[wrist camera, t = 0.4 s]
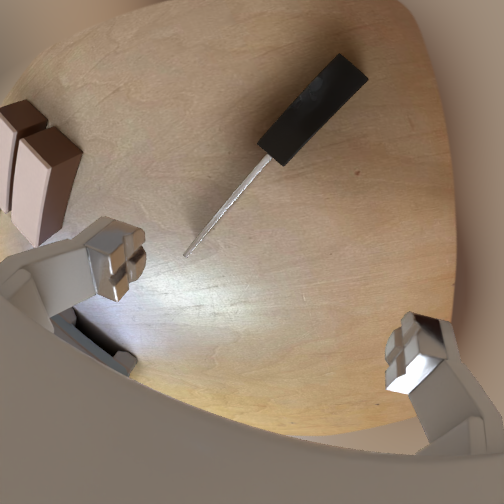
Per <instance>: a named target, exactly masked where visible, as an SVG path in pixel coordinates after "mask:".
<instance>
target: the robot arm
mask: <svg viewBox="0 0 504 504" xmlns="http://www.w3.org/2000/svg"><path fill="white" fill-rule="evenodd" d="M144 242H145V232H144V231H143V230H142V229H141V228H138V227H135V226H133V225H130V224H127V223H124V222H121V221H118V220H115V219H112V218H109V217H106V216H104V217H100V218H99V219H98V220H96V221H95V222H94V223H92V224H91V225H90V226H88V227H87V228H86V229H84V230H83V231H82V232H81V233H79V234H78V235H77V236H75V237H74V238H73V239H72V240H69V239H65V240H62V241H58V242H55V243H51V244H48V245H44V246H41V247H38V248H34V249H31V250H28V251H24V252H21V253H18V254H15V255H12V256H8V257H7V258H5V259H4V260H3V261H2V262H1V263H0V504H504V429H503V422H502V416H501V415H500V413H499V412H498V410H497V409H496V407H495V406H494V404H493V403H492V401H491V400H490V398H489V397H488V395H487V394H486V393H485V391H484V390H483V388H482V387H481V385H480V384H479V383H478V381H477V380H476V378H475V377H474V376H473V374H472V373H471V371H470V370H469V369H468V368H467V366H466V365H465V364H464V363H461V359H460V355H459V351H458V347H457V343H456V339H455V335H454V331H453V327H452V325H451V323H450V322H449V321H445V320H441V319H437V318H436V319H435V318H431V317H428V316H424V315H421V314H417V313H414V312H410V311H409V312H407V313H406V314H405V315H404V317H403V318H402V319H401V325H402V326H401V327H399V328H397V329H395V330H394V331H393V332H392V334H391V335H390V337H389V339H388V342H387V344H386V349H385V360H386V362H387V363H388V365H389V367H388V369H387V370H386V371H385V386H386V390H390V391H395V392H400V393H404V394H409V395H408V396H409V399H410V401H411V403H412V405H413V407H414V409H415V411H416V414H417V416H418V418H419V420H420V422H421V425H422V427H423V429H424V432H425V434H426V436H427V438H428V440H429V443H430V444H429V445H427V446H425V447H424V448H422V449H420V450H419V451H418V452H417V453H416V455H403V454H390V453H381V452H371V451H364V450H356V449H350V448H343V447H337V446H332V445H326V444H321V443H316V442H311V441H307V440H301V439H298V438H293V437H289V436H285V435H281V434H278V433H274V432H270V431H266V430H263V429H259V428H256V427H253V426H249V425H246V424H243V423H240V422H237V421H233V420H230V419H227V418H225V417H222V416H219V415H216V414H213V413H210V412H208V411H205V410H202V409H200V408H197V407H194V406H192V405H189V404H187V403H184V402H182V401H179V400H177V399H175V398H172V397H170V396H168V395H165V394H163V393H161V392H159V391H156V390H154V389H152V388H150V387H148V386H146V385H143V384H141V383H139V382H137V381H135V380H133V379H131V378H129V377H127V376H125V375H123V374H121V373H119V372H117V371H115V370H114V369H112V368H110V367H108V366H106V365H104V364H103V363H101V362H99V361H97V360H95V359H94V358H92V357H90V356H88V355H87V354H85V353H83V352H82V351H80V350H78V349H77V348H75V347H73V346H72V345H70V344H69V343H67V342H65V341H64V340H62V339H61V338H59V337H58V336H56V335H55V334H53V333H54V327H53V325H52V323H51V321H50V319H49V318H50V317H52V316H54V315H56V314H58V313H60V312H62V311H64V310H66V309H68V308H70V307H72V306H74V305H76V304H78V303H80V302H82V301H85V300H87V299H89V298H91V297H93V296H95V295H96V293H97V294H99V295H101V296H103V297H106V298H108V299H110V300H113V301H115V302H117V303H118V301H119V300H120V299H121V298H122V297H123V296H124V294H125V293H126V292H127V291H128V290H129V283H131V282H133V281H136V280H137V279H138V278H139V277H140V276H141V275H142V272H143V270H144V268H145V265H146V252H145V250H144V249H143V247H142V244H143V243H144Z"/></svg>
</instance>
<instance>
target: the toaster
mask: <svg viewBox="0 0 504 504" xmlns="http://www.w3.org/2000/svg"><path fill="white" fill-rule="evenodd" d="M49 319H50V321H51V323H52V325H53V327H54V333H53V334H55V335H56V336H58V337H59V338H61V339H62V340H64V341H65V342H67V343H69V344H70V345H72V346H73V347H75V348H77V349H78V350H80V351H82V352H83V353H85V354H87V355H88V356H90V357H92V358H94V359H95V360H97V361H99V362H101V363H103V364H104V365H106V366H108V367H110V368H112V369H114V370H115V371H117V372H119V373H121V374H123V375H125V376H127V377H129V376H130V373H131V371H132V370H133V368H134V367H135V365H136V364H137V359H136V358H135V357H134V356H132V355H131V354H130V353H128V352H121V351H117V353H116V354H115V355H114V357H112V356H110V355H109V354H108V353H106V352H105V351H104V350H102V349H101V348H100V347H99V346H97V345H96V344H95V343H94V342H92V341H91V340H90V339H89V338H87V337H86V336H85V335H84V334H82V333H81V332H80V331H79V330H78V329H76V328H75V325H76V316H75V313H74V309H73V308H72V307H70V308H68V309H66V310H64V311H62V312H60V313H58V314H56V315H54V316H52V317H50V318H49Z"/></svg>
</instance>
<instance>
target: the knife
mask: <svg viewBox="0 0 504 504" xmlns="http://www.w3.org/2000/svg"><path fill="white" fill-rule="evenodd" d="M368 80H369V79H368V78H367V77H366V76H365V75H364V74H363V73H362V72H361V71H360V70H359V69H357V68H356V67H355V66H354V65H353V64H352V63H351V62H350V61H348V60H347V59H346V58H345V57H344V56H342V55H341V54H340V53H339V54H338V55H337V56H336V57H335V58H334V59H333V60H332V61H331V62H330V63H329V64H328V65H327V66H326V67H325V68H324V69H323V70H322V71H321V72H320V73H319V74H318V76H317V77H316V78H315V79H314V80H313V81H312V82H311V83H310V84H309V85H308V86H307V87H306V88H305V89H304V90H303V92H302V93H301V94H300V95H299V96H298V97H297V98H296V99H295V100H294V101H293V103H292V104H291V105H290V106H289V107H288V108H287V109H286V110H285V111H284V113H283V114H282V115H281V116H280V117H279V118H278V119H277V120H276V122H275V123H274V124H273V125H272V126H271V127H270V128H269V130H268V131H267V132H266V133H265V134H264V135H263V137H262V138H261V139H260V140H259V141H258V142H257V145H258V146H260V147H261V148H262V149H263V150H264V151H266V152H267V154H266V155H265V156H264V158H263V159H262V160H261V161H260V162H259V163H258V164H257V166H256V167H255V168H254V169H253V170H252V171H251V172H250V174H249V175H248V176H247V177H246V178H245V179H244V181H243V182H242V183H241V184H240V185H239V187H238V188H237V189H236V190H235V191H234V192H233V194H232V195H231V196H230V197H229V198H228V200H227V201H226V202H225V203H224V204H223V206H222V207H221V208H220V209H219V210H218V212H217V213H216V214H215V215H214V216H213V218H212V219H211V220H210V221H209V223H208V224H207V225H206V226H205V228H204V229H203V230H202V231H201V232H200V234H199V235H198V236H197V237H196V239H195V240H194V241H193V242H192V244H191V245H190V246H189V248H188V249H187V250H186V251H185V253H184V254H183V256H184V257H186V258H187V257H188V256H189V255H190V254H191V252H192V251H193V250H194V249H195V247H196V246H197V245H198V244H199V243H200V241H201V240H202V239H203V238H204V237H205V235H206V234H207V233H208V232H209V230H210V229H211V228H212V227H213V226H214V225H215V223H216V222H217V221H218V220H219V219H220V217H221V216H222V215H223V214H224V213H225V212H226V210H227V209H228V208H229V207H230V206H231V204H232V203H233V202H234V201H235V200H236V199H237V197H238V196H239V195H240V194H241V193H242V192H243V191H244V189H245V188H246V187H247V186H248V185H249V184H250V183H251V181H252V180H253V179H254V178H255V177H256V176H257V175H258V173H259V172H260V171H261V170H262V169H263V168H264V167H265V166H266V164H267V163H268V162H269V161H270V160H271V159H272V158H274V159H275V160H276V161H277V162H278V163H280V164H281V165H282V166H283V167H284V166H285V165H286V164H287V163H288V162H289V161H290V160H291V159H292V158H293V157H294V156H295V154H296V153H297V152H298V151H299V150H300V149H301V148H302V147H303V146H304V145H305V144H306V143H307V142H308V141H309V140H310V139H311V138H312V137H313V136H314V135H315V134H316V132H317V131H318V130H319V129H320V128H321V127H322V126H323V125H324V124H325V123H326V122H327V121H328V120H329V119H330V118H331V117H332V116H333V115H334V114H335V113H336V112H337V111H338V110H339V109H340V108H341V107H342V106H343V105H344V104H345V103H346V102H347V101H348V100H349V99H350V98H351V97H352V96H353V95H354V94H355V93H356V92H357V91H358V90H359V89H360V88H361V87H362V86H363V85H364V84H365V83H366V82H367V81H368Z"/></svg>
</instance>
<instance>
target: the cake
mask: <svg viewBox="0 0 504 504" xmlns="http://www.w3.org/2000/svg"><path fill="white" fill-rule="evenodd" d="M47 121H48V120H47V119H46V118H45V117H44V116H43V115H42V114H41V113H40V112H39V111H38V110H37V109H36V108H35V107H34V106H32V105H31V104H30V103H29V102H28V101H27V100H23V101H19V102H16V103H13V104H10V105H7V106H4V107H1V108H0V208H1V209H2V210H3V212H4V213H5V214H7V213H8V212H9V211H11V210H12V212H11V222H12V223H13V224H14V225H15V226H16V227H17V229H18V230H19V231H20V232H21V233H22V234H23V236H24V237H25V238H26V239H27V240H28V241H29V242H30V243H31V245H32V246H33V247H34V248H37V247H38V246H39V245H41V244H42V243H43V242H45V241H46V240H47V239H48V238H50V237H51V236H52V235H54V234H55V233H56V232H58V231H59V230H60V229H61V228H62V224H63V219H64V215H65V211H66V207H67V203H68V199H69V196H70V192H71V189H72V185H73V182H74V178H75V175H76V172H77V169H78V166H79V163H80V160H81V157H82V154H83V152H82V151H81V150H80V149H79V148H77V147H76V146H75V145H74V144H73V143H72V142H71V141H70V140H69V139H68V138H66V137H65V136H64V135H63V134H62V133H61V132H60V131H59V130H58V129H57V128H56V127H55V126H54V127H51V128H48V129H46V130H45V128H46V124H47Z"/></svg>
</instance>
